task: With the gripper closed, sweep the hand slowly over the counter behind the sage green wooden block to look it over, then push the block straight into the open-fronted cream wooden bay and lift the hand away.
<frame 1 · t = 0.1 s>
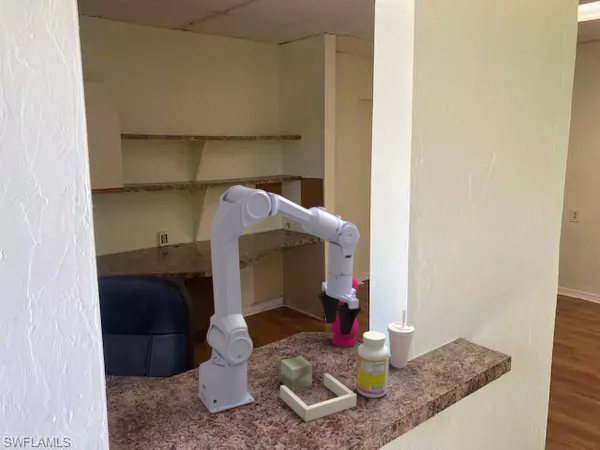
hand: (337, 328, 115), 10 cm above the worktop, tool pointing down, fingers open, 7 cm apart
supplement bottle: (371, 392, 106), on the worktop
bay: (316, 400, 102), on the worktop
smoothie: (398, 365, 119), on the worktop
block: (296, 383, 109), on the worktop
pepper mill: (344, 343, 131), on the worktop
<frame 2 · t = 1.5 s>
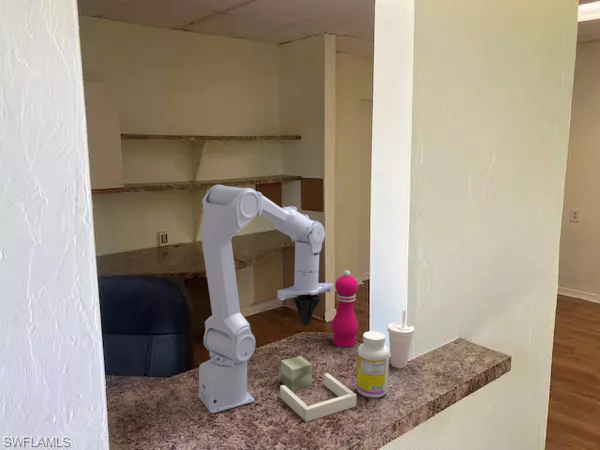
hand: (305, 323, 118), 9 cm above the worktop, tool pointing down, fingers closed
nothing on the worktop moved.
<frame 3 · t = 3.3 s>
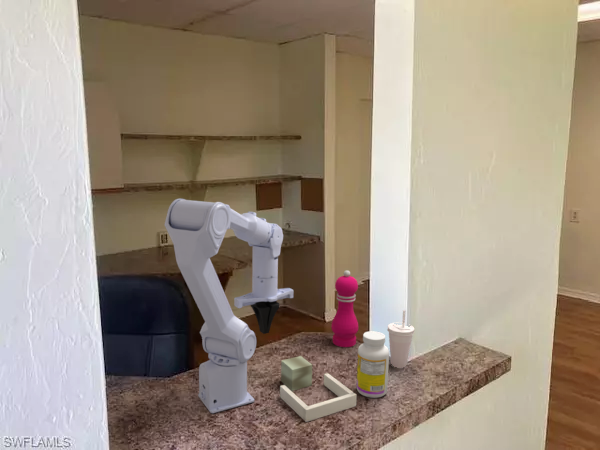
hand: (264, 331, 113), 9 cm above the worktop, tool pointing down, fingers closed
nothing on the worktop moved.
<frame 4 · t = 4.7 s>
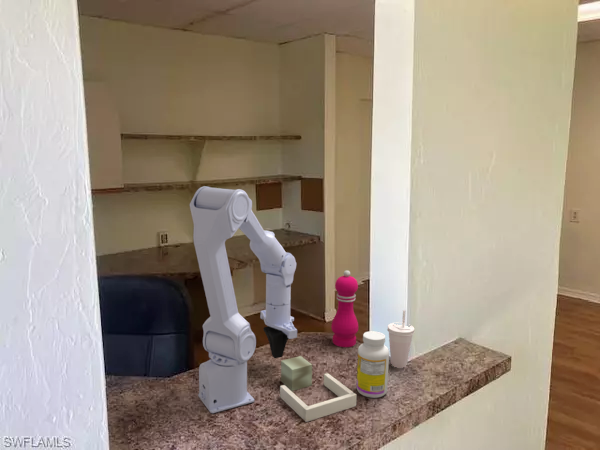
hand: (277, 356, 116), 3 cm above the worktop, tool pointing down, fingers closed
nothing on the worktop moved.
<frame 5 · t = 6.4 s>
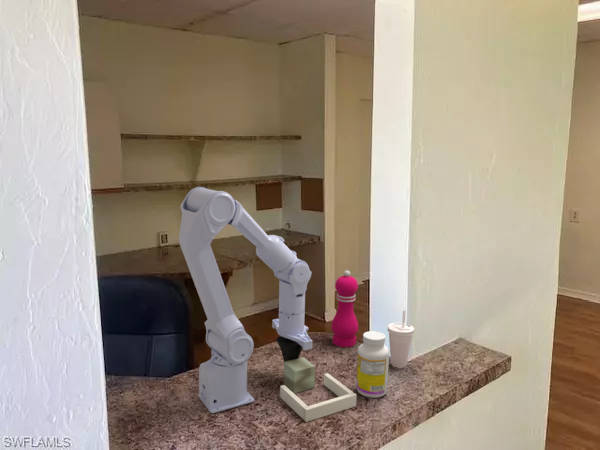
hand: (290, 368, 111), 2 cm above the worktop, tool pointing down, fingers closed
block: (298, 385, 108), on the worktop, touching gripper
everything else where it was.
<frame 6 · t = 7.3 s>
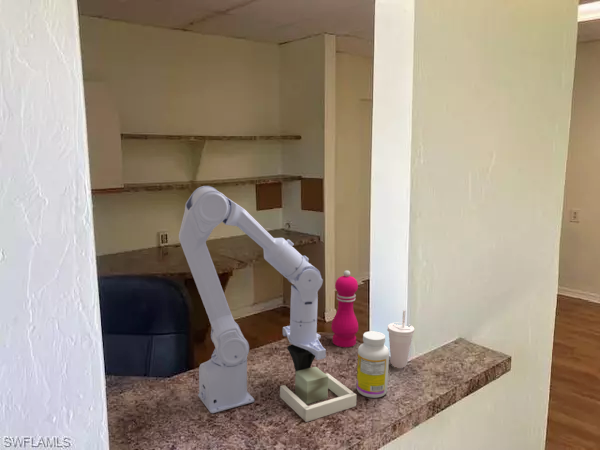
hand: (302, 377, 106), 2 cm above the worktop, tool pointing down, fingers closed
block: (311, 395, 103), on the worktop, touching gripper
everything else where it was.
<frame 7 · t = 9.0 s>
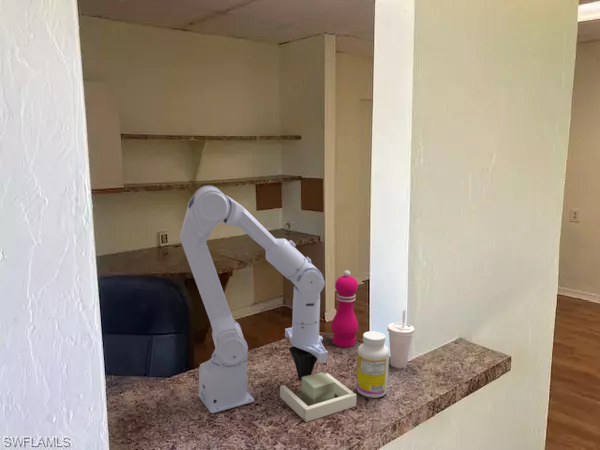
hand: (304, 379, 105), 2 cm above the worktop, tool pointing down, fingers closed
block: (317, 402, 101), on the worktop
everything else where it was.
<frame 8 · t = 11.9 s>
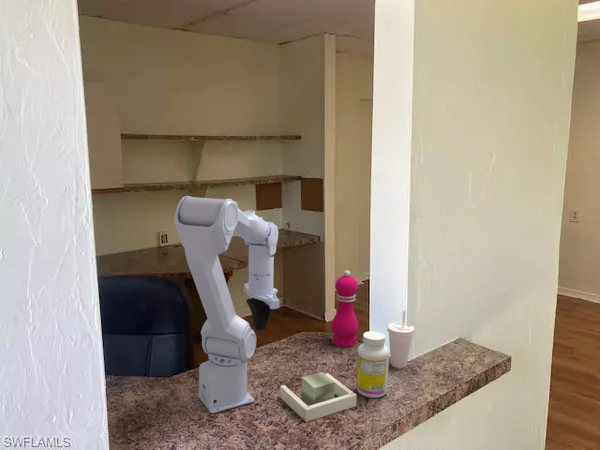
hand: (260, 329, 115), 9 cm above the worktop, tool pointing down, fingers closed
nothing on the worktop moved.
at the end: block inside the target area (0.1 cm from its centre), on the worktop; block tilted 0° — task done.
